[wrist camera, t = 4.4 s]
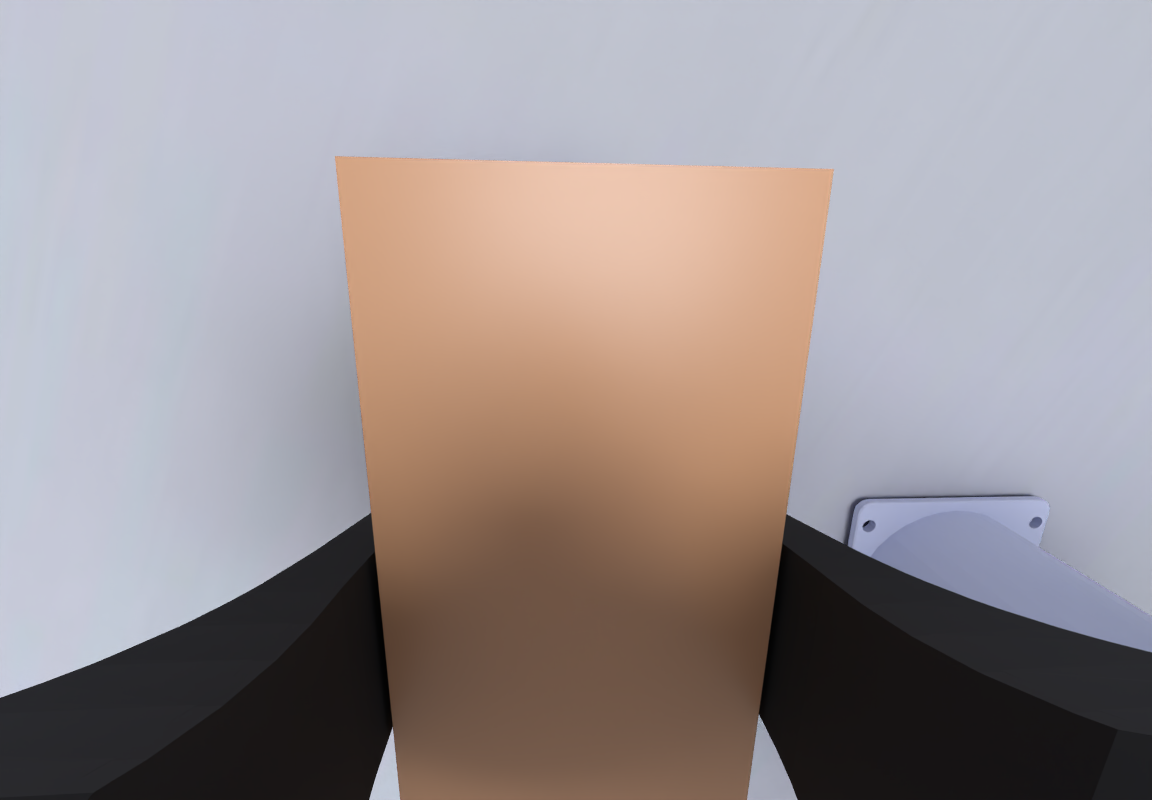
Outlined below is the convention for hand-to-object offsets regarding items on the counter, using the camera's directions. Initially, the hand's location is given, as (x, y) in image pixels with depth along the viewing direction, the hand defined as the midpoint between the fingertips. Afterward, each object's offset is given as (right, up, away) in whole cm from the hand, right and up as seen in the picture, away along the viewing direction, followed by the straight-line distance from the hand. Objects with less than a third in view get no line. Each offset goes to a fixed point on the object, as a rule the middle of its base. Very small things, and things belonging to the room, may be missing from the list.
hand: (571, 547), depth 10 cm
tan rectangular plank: (0, 0, +1) cm, 1 cm away
